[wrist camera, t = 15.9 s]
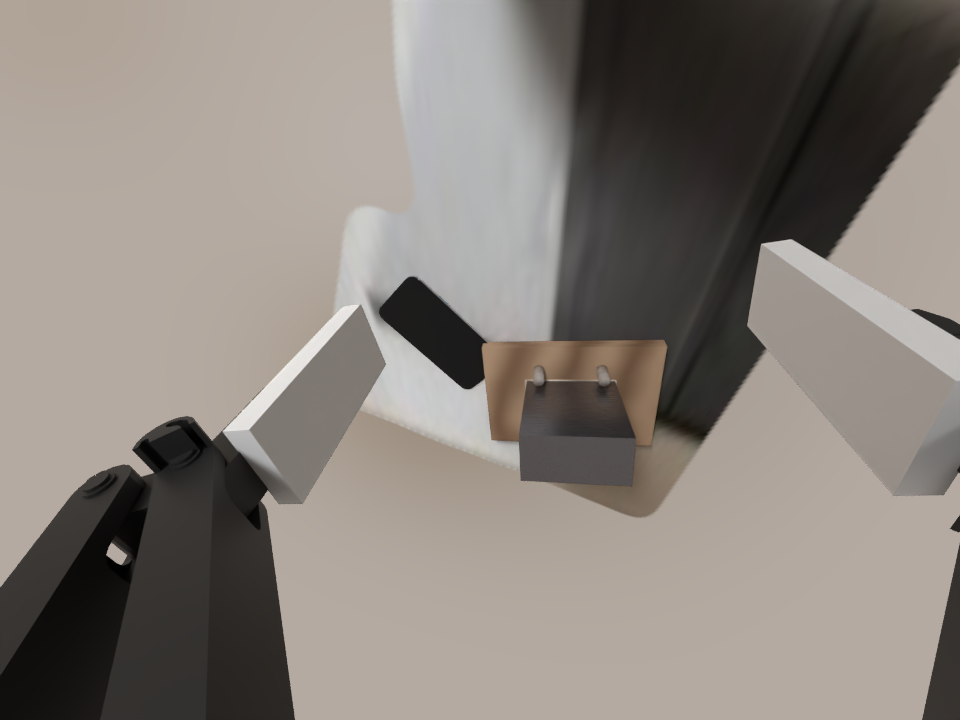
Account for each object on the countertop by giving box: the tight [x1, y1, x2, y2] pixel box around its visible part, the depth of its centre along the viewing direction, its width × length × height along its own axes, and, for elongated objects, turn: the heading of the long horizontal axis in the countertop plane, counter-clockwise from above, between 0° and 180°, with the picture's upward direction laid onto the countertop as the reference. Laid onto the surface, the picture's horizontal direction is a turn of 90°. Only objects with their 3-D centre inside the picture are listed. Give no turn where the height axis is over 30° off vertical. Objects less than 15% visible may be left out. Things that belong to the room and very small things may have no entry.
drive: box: [519, 381, 636, 486], centre depth 40 cm, size 10×5×12 cm, turn 96°
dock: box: [482, 340, 667, 446], centre depth 46 cm, size 20×14×4 cm
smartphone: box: [379, 276, 488, 389], centre depth 47 cm, size 7×1×15 cm
